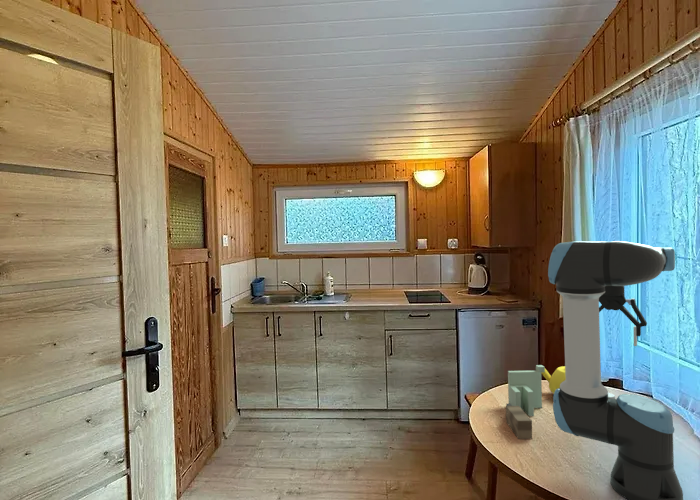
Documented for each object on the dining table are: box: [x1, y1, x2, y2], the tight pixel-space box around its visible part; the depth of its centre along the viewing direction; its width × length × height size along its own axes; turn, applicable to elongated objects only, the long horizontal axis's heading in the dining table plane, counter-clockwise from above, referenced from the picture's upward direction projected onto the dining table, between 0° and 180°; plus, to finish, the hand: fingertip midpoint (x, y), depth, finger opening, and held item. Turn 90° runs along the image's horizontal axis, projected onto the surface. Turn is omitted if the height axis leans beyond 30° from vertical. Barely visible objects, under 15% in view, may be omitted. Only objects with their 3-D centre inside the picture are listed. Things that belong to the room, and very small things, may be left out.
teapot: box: [541, 365, 566, 395], centre depth 168 cm, size 20×16×14 cm
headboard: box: [507, 364, 546, 417], centre depth 156 cm, size 9×13×16 cm
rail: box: [505, 402, 533, 440], centre depth 143 cm, size 16×4×6 cm, turn 177°
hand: (612, 342), depth 149 cm, fingers open, 13 cm apart
